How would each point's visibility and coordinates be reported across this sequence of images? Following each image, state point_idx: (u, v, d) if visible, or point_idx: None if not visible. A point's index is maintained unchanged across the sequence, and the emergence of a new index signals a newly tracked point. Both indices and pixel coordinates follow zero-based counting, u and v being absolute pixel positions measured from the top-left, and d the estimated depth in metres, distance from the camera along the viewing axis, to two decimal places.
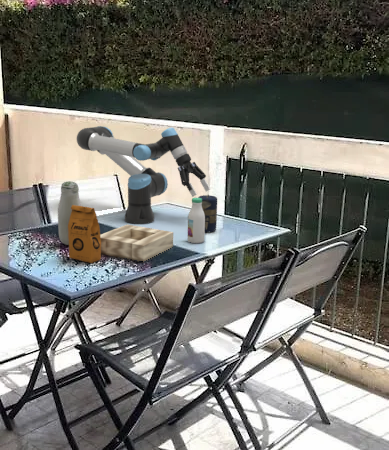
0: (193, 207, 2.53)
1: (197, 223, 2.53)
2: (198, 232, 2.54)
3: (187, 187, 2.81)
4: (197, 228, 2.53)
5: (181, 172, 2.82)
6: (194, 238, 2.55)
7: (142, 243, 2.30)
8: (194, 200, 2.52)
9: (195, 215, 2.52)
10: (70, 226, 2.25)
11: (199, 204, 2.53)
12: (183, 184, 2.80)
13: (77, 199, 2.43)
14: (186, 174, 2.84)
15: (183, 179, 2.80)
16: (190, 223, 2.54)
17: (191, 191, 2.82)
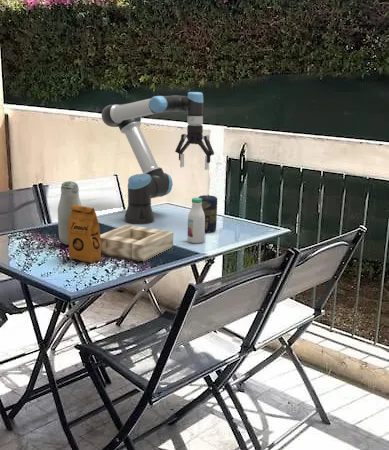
0: (193, 207, 2.53)
1: (197, 223, 2.53)
2: (198, 232, 2.54)
3: None
4: (197, 228, 2.53)
5: None
6: (194, 238, 2.55)
7: (142, 243, 2.30)
8: (194, 200, 2.52)
9: (195, 215, 2.52)
10: (70, 226, 2.25)
11: (199, 204, 2.53)
12: (177, 151, 2.84)
13: (77, 199, 2.43)
14: None
15: None
16: (190, 223, 2.54)
17: None
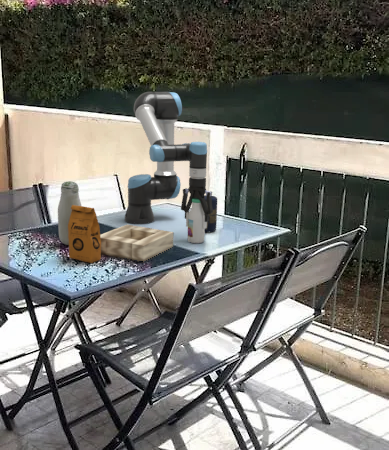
0: (193, 207, 2.53)
1: (197, 223, 2.53)
2: (198, 232, 2.54)
3: None
4: (197, 228, 2.53)
5: None
6: (194, 238, 2.55)
7: (142, 243, 2.30)
8: (194, 200, 2.52)
9: (195, 215, 2.52)
10: (70, 226, 2.25)
11: (199, 204, 2.53)
12: None
13: (77, 199, 2.43)
14: None
15: None
16: (190, 223, 2.54)
17: None
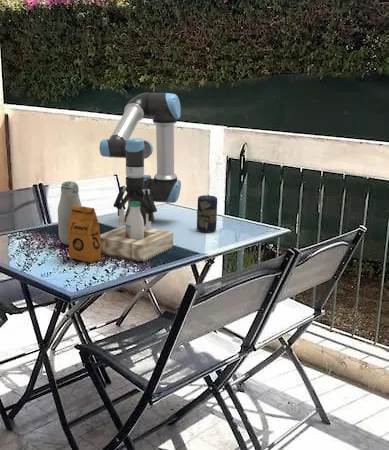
0: (130, 211, 2.38)
1: (135, 228, 2.37)
2: (136, 238, 2.39)
3: None
4: (135, 234, 2.38)
5: None
6: None
7: (142, 243, 2.30)
8: (131, 204, 2.37)
9: (132, 220, 2.37)
10: (70, 226, 2.25)
11: (137, 208, 2.37)
12: None
13: (77, 199, 2.43)
14: None
15: None
16: (127, 228, 2.38)
17: None
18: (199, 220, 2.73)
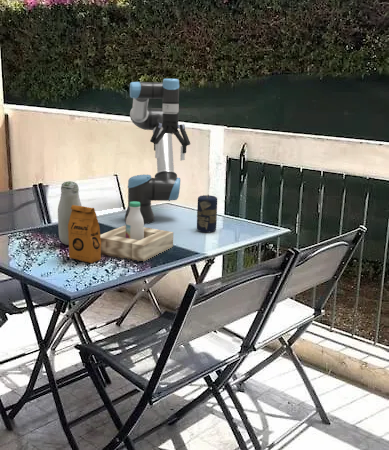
0: (130, 211, 2.38)
1: (135, 228, 2.37)
2: (136, 238, 2.39)
3: None
4: (134, 234, 2.38)
5: None
6: None
7: (142, 243, 2.30)
8: (131, 204, 2.37)
9: (132, 220, 2.37)
10: (70, 226, 2.25)
11: (137, 208, 2.37)
12: None
13: (77, 199, 2.43)
14: None
15: None
16: (127, 229, 2.38)
17: None
18: (199, 220, 2.73)
